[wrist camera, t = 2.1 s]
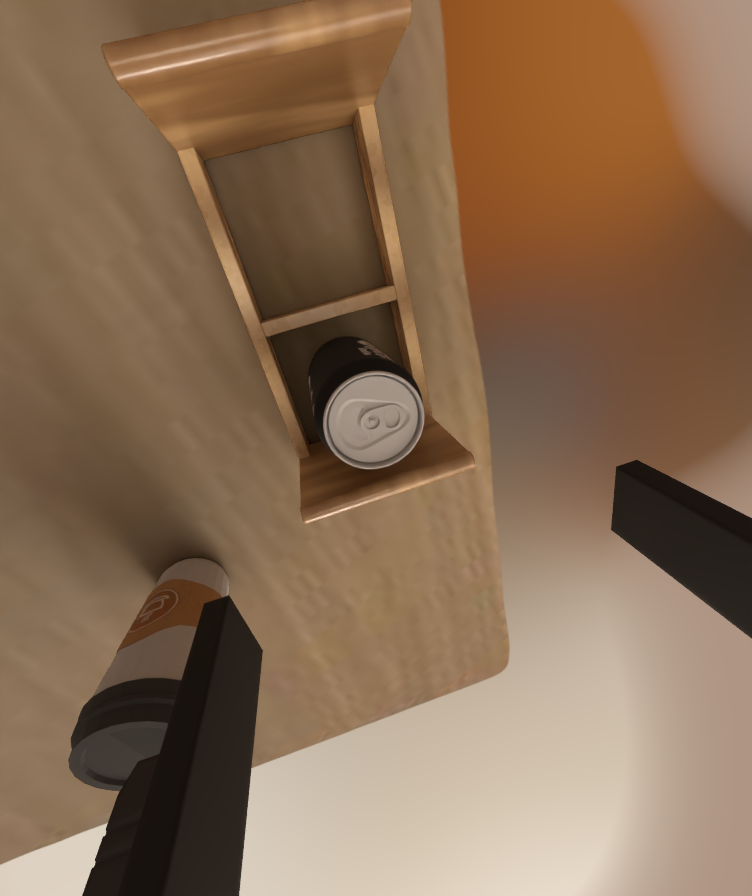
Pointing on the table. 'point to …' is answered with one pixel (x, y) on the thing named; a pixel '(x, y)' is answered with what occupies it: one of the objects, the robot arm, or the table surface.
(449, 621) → the table surface
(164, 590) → the coffee cup
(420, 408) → the beverage can
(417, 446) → the rack
